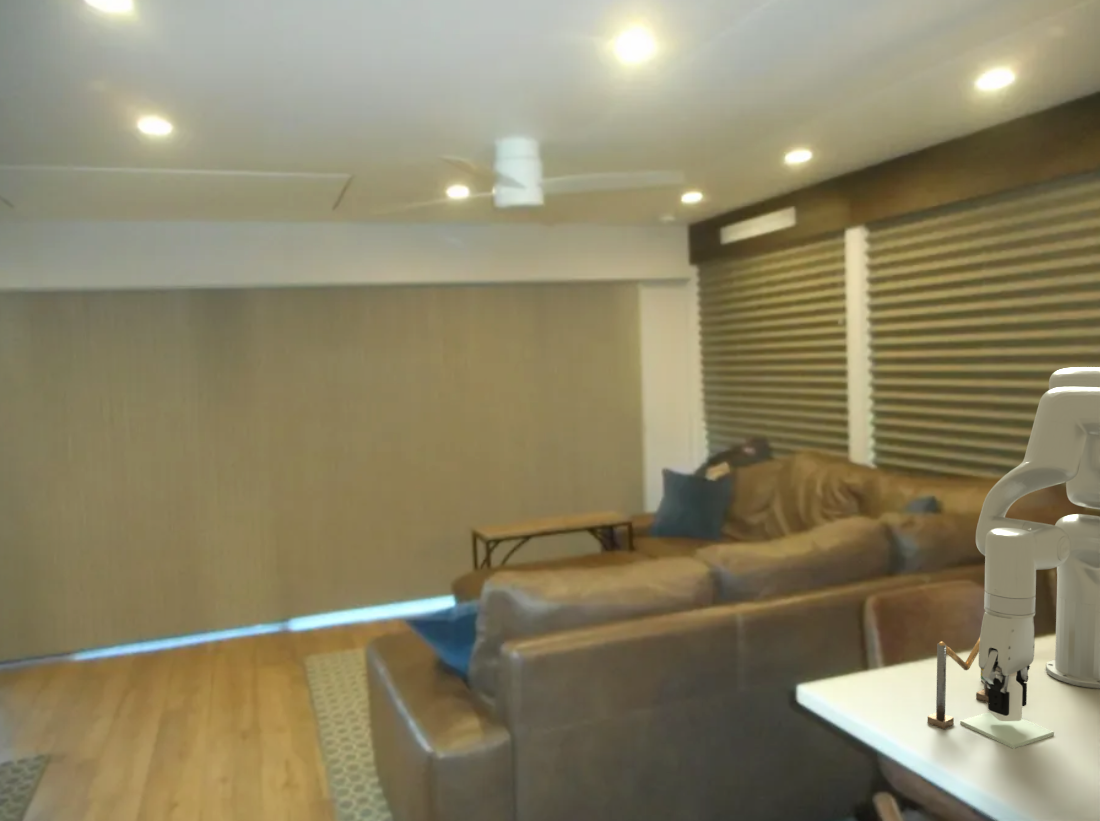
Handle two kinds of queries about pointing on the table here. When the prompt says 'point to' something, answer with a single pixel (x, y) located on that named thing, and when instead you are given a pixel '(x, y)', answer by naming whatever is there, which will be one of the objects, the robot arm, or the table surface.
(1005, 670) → the robot arm
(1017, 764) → the table surface
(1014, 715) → the salt shaker
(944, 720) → the wire hurdle
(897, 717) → the table surface
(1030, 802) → the table surface
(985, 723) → the mat
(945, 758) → the table surface
